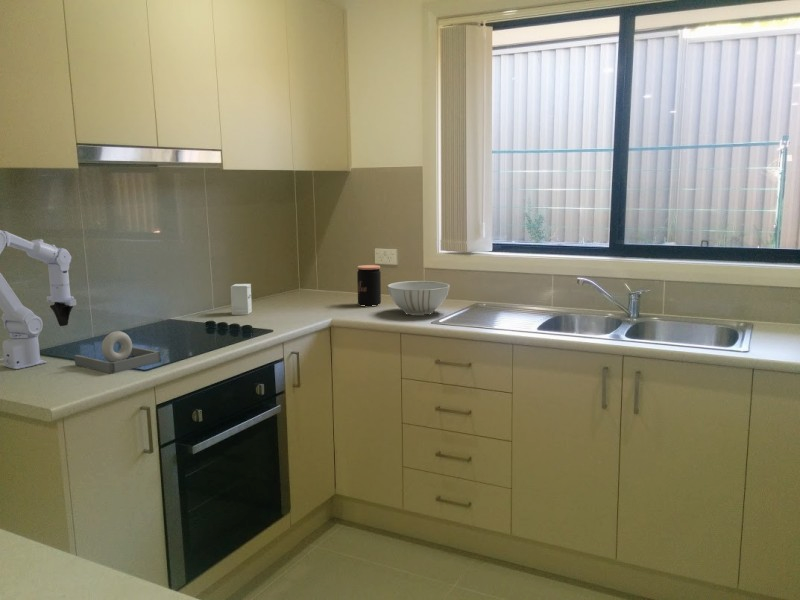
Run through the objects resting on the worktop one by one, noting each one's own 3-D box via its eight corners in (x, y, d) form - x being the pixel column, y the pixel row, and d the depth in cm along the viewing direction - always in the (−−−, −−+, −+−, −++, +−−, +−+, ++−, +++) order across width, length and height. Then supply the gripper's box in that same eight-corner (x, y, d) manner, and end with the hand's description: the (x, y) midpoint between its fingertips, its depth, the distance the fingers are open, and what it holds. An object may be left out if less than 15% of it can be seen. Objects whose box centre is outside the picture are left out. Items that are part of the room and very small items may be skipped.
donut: (129, 358, 214) (126, 327, 212) (135, 359, 212) (133, 328, 210) (100, 365, 206) (97, 333, 204) (107, 367, 204) (104, 334, 202)
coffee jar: (355, 303, 313) (354, 265, 310) (377, 302, 316) (376, 264, 313) (361, 307, 303) (360, 268, 300) (383, 306, 306) (383, 267, 303)
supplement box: (248, 315, 287) (247, 285, 285) (231, 315, 287) (229, 286, 285) (252, 311, 294) (251, 283, 292) (235, 311, 294) (234, 283, 292)
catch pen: (111, 373, 196) (111, 363, 196) (75, 364, 207) (74, 355, 206) (160, 361, 210) (160, 351, 210) (124, 353, 220) (123, 344, 220)
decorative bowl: (416, 321, 270) (416, 292, 268) (375, 312, 290) (374, 285, 288) (462, 313, 287) (462, 285, 285) (420, 305, 307) (420, 279, 305)
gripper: (83, 284, 217) (87, 325, 219) (59, 281, 225) (63, 321, 227) (62, 287, 211) (66, 329, 213) (38, 284, 219) (42, 324, 221)
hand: (63, 325), depth 220 cm, fingers closed
